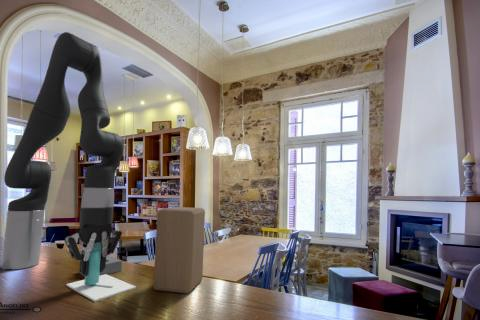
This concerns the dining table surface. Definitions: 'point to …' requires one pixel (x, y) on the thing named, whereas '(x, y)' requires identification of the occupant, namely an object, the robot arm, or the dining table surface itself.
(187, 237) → the wooden block
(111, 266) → the button housing
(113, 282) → the pad
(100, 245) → the marker
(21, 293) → the dining table surface
